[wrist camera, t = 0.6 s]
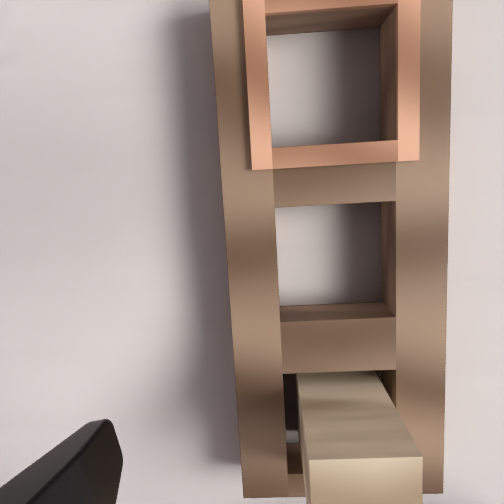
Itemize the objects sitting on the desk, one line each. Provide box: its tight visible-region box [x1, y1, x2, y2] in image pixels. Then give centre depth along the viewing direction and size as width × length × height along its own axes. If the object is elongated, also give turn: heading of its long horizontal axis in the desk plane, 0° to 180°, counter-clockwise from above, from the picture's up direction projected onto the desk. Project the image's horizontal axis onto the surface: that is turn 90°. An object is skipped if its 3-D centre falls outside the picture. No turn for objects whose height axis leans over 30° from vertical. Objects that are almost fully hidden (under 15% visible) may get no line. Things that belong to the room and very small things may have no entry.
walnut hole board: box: [209, 0, 453, 498], centre depth 21 cm, size 24×10×3 cm, turn 3°
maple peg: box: [296, 370, 423, 504], centre depth 19 cm, size 4×4×8 cm
